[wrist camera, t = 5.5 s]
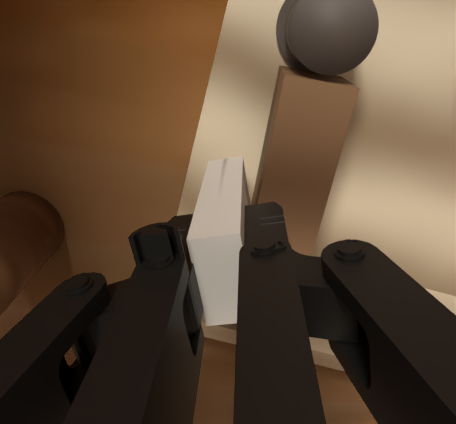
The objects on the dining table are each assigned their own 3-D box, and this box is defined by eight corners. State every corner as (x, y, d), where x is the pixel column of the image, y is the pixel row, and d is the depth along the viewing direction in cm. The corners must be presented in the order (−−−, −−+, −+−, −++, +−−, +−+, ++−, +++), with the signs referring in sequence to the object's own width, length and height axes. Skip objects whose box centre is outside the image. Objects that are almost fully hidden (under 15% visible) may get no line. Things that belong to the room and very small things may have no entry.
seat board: (262, -123, 16) (269, -236, 9) (769, 38, 18) (1132, 53, 10) (162, 289, 25) (123, 403, 17) (510, 377, 26) (610, 517, 19)
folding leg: (293, -19, 15) (302, -27, 12) (366, -6, 15) (391, -11, 12) (246, 217, 19) (244, 251, 16) (303, 227, 19) (311, 262, 16)
